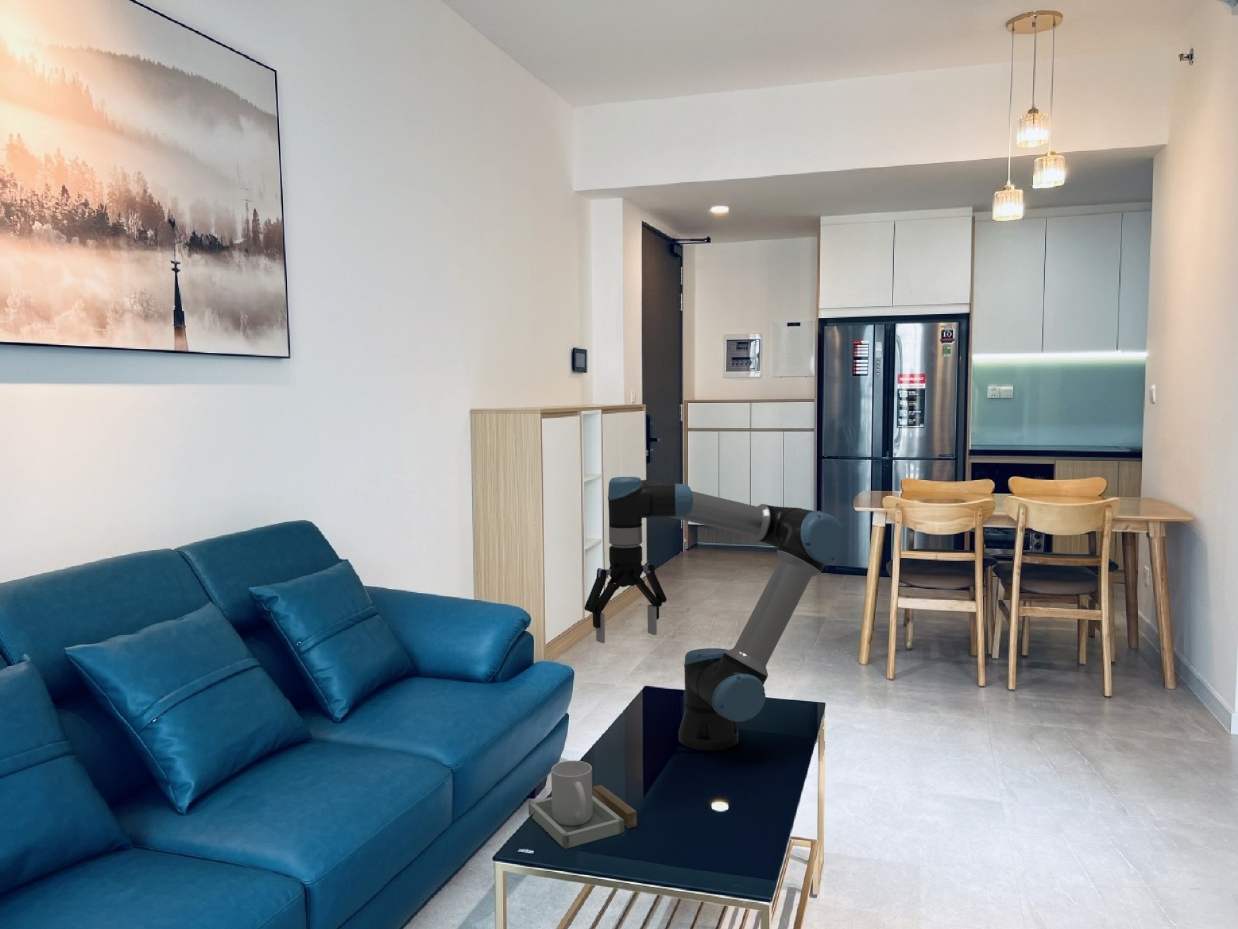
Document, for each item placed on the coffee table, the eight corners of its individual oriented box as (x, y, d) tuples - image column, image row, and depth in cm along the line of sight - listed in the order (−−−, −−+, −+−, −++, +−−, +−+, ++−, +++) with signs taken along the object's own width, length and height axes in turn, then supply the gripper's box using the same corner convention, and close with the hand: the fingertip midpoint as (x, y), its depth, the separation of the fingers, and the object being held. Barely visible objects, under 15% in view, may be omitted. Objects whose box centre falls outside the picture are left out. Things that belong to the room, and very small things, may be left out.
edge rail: (601, 798, 189) (600, 784, 188) (636, 826, 176) (636, 811, 175) (592, 800, 188) (592, 786, 188) (628, 828, 175) (627, 813, 174)
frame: (584, 800, 188) (584, 789, 188) (624, 832, 173) (623, 820, 173) (528, 814, 181) (528, 802, 181) (564, 849, 167) (564, 836, 167)
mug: (603, 831, 173) (603, 780, 173) (563, 838, 170) (562, 786, 170) (585, 806, 184) (584, 758, 184) (547, 812, 182) (546, 763, 181)
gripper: (663, 538, 208) (664, 627, 209) (568, 547, 196) (570, 641, 197) (680, 542, 201) (681, 633, 202) (584, 552, 189) (585, 649, 190)
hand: (626, 638), depth 200 cm, fingers open, 13 cm apart
